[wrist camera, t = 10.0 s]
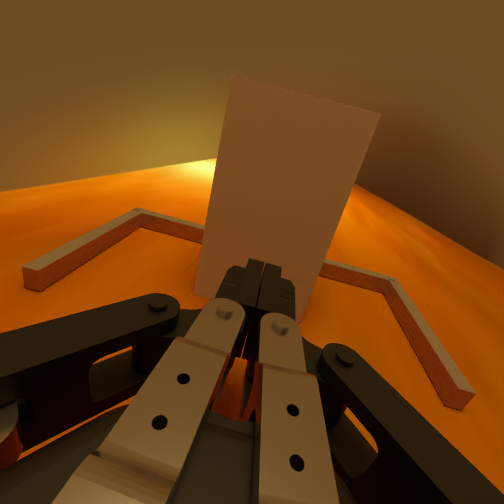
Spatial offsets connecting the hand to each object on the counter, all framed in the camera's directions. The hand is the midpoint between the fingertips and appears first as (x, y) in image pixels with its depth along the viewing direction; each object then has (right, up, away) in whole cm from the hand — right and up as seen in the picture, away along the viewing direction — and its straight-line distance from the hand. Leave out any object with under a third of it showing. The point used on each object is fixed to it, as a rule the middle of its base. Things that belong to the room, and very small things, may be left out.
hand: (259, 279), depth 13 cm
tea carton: (0, -1, +11) cm, 12 cm away
